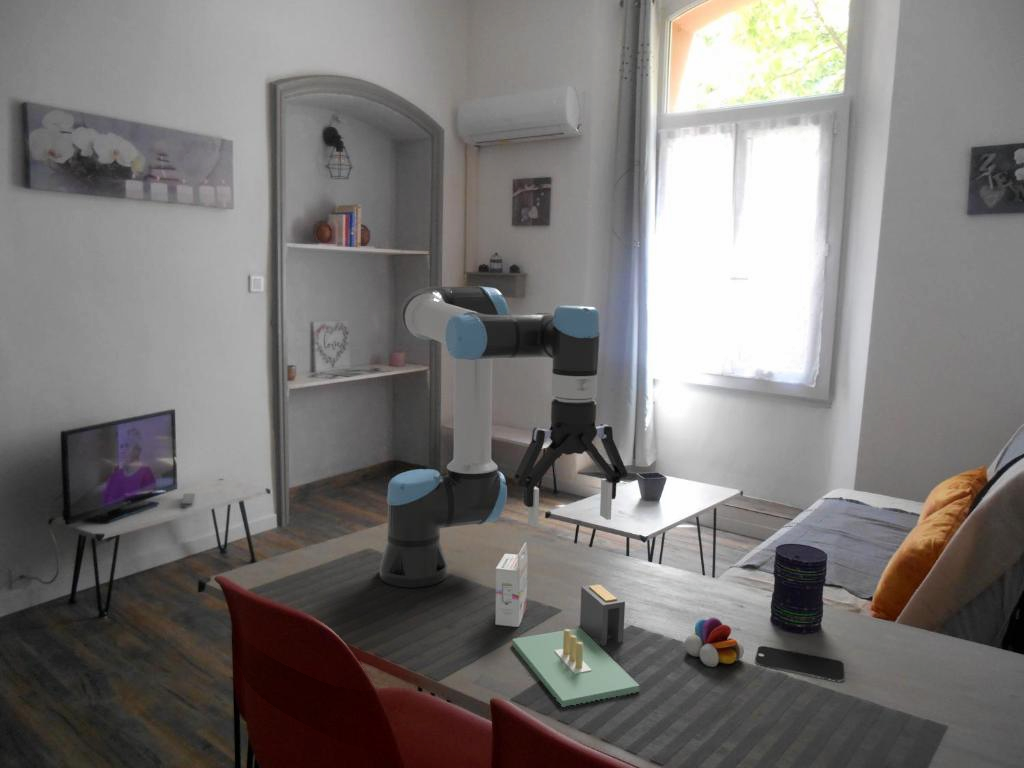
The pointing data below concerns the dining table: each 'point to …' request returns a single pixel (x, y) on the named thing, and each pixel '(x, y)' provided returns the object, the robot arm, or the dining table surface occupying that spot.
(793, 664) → the smartphone
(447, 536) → the dining table surface
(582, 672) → the header board
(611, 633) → the plug housing
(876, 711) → the dining table surface
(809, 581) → the storage jar
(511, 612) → the ink cartridge box
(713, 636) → the rainbow wheeled toy
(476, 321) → the robot arm
